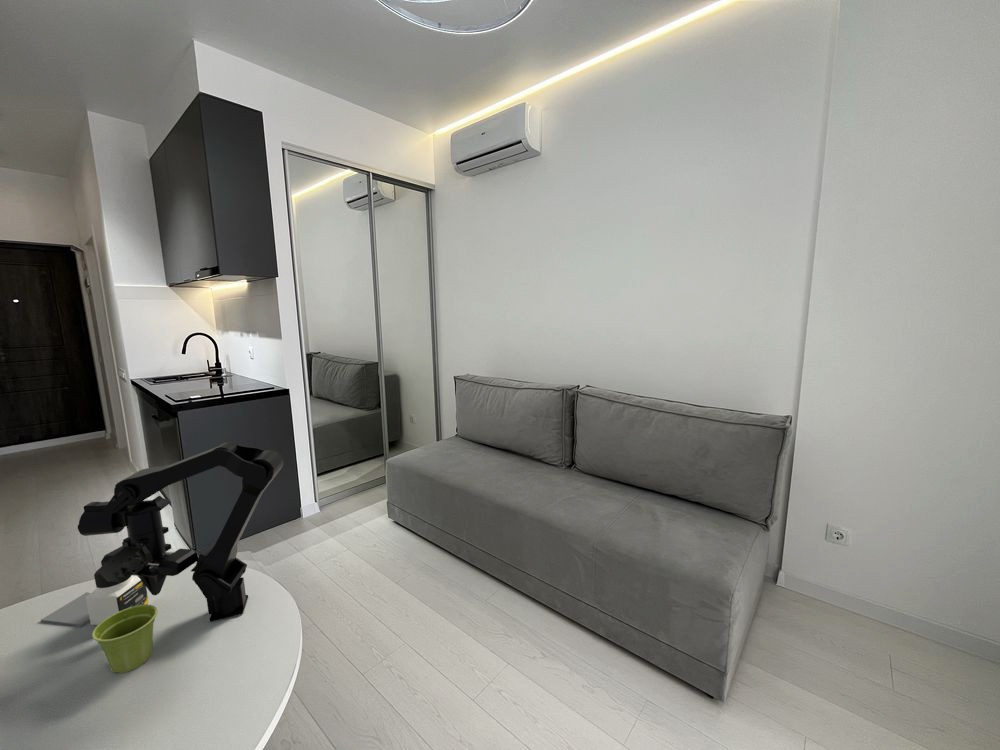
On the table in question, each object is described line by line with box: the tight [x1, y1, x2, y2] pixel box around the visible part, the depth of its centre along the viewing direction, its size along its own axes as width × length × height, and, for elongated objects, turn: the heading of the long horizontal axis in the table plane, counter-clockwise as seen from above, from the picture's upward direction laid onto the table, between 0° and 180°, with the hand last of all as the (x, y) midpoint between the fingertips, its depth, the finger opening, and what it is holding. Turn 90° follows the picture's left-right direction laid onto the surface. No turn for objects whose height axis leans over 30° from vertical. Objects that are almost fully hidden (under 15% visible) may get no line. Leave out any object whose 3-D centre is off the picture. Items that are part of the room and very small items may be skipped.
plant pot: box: [91, 604, 158, 674], centre depth 81 cm, size 9×9×9 cm
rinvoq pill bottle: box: [86, 568, 149, 626], centre depth 93 cm, size 7×7×12 cm
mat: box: [40, 592, 91, 628], centre depth 95 cm, size 11×9×1 cm
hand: (156, 594), depth 91 cm, fingers closed
